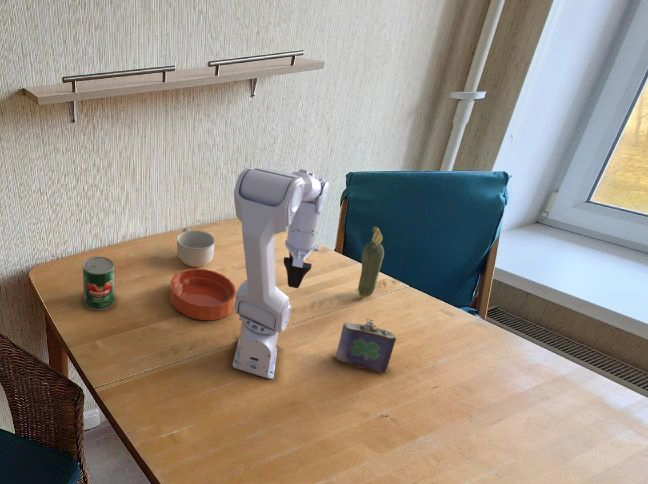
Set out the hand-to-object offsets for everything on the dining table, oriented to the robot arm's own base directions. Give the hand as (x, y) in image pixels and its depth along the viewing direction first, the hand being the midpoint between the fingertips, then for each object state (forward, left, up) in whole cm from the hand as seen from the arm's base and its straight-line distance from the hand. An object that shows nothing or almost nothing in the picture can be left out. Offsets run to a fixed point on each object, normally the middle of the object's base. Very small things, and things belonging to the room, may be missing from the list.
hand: (294, 277), depth 100 cm
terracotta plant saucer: (-4, +20, -10) cm, 23 cm away
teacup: (+15, +27, -11) cm, 33 cm away
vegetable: (+14, -17, -11) cm, 24 cm away
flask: (-11, -15, -11) cm, 21 cm away
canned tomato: (-15, +44, -11) cm, 48 cm away
